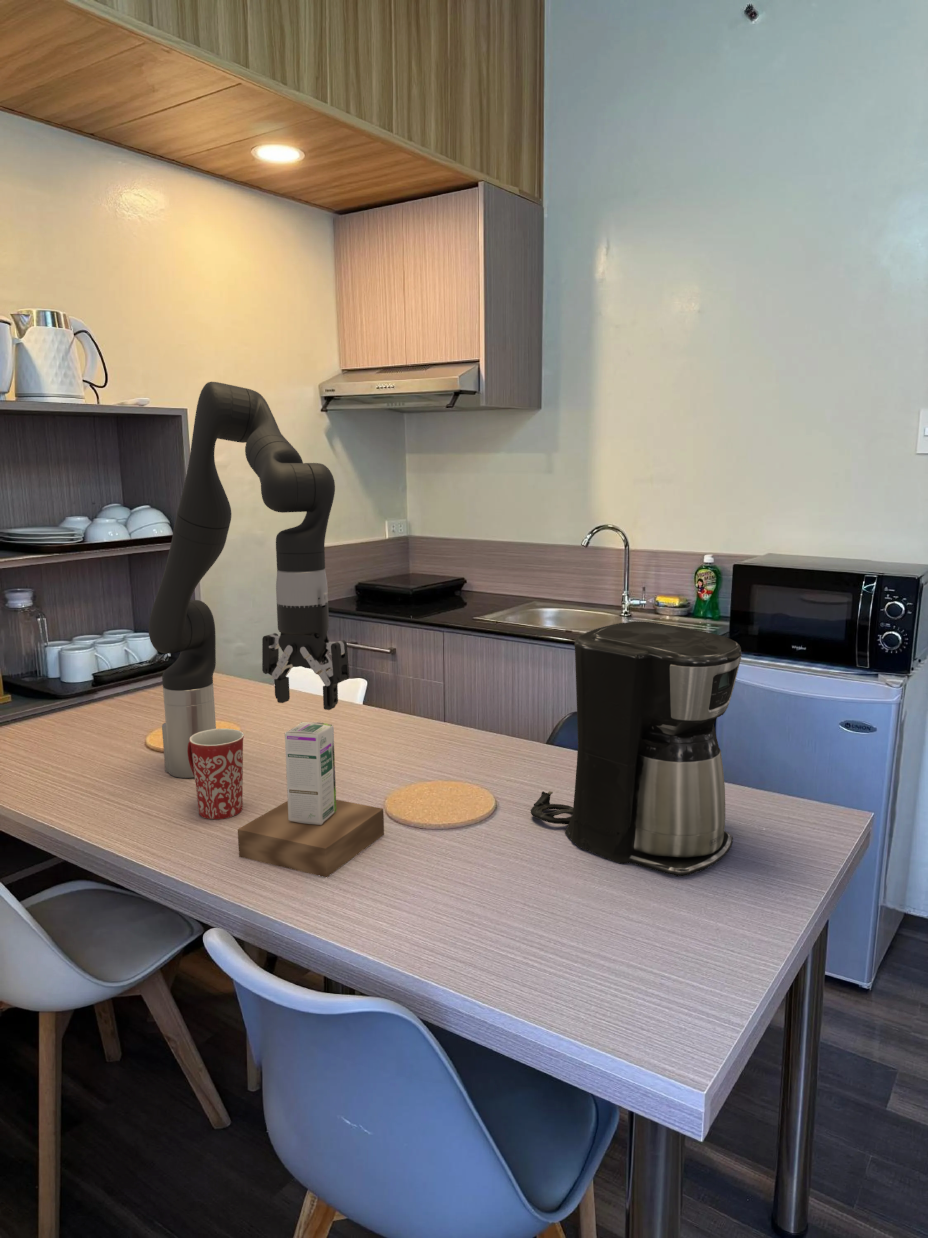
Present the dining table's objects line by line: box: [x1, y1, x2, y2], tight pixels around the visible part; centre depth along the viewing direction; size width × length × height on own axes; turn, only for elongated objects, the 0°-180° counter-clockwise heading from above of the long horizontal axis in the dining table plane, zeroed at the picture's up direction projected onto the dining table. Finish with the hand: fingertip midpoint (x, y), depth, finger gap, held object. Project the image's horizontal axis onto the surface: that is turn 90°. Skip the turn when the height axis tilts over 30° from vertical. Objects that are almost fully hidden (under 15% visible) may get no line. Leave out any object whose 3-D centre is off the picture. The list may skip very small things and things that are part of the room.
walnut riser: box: [237, 799, 385, 878], centre depth 135 cm, size 16×16×5 cm
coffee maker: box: [530, 620, 742, 877], centre depth 133 cm, size 23×32×34 cm
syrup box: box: [284, 721, 337, 825], centre depth 134 cm, size 6×6×14 cm
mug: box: [187, 728, 245, 820], centre depth 149 cm, size 13×9×14 cm
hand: (306, 705), depth 131 cm, fingers open, 8 cm apart
